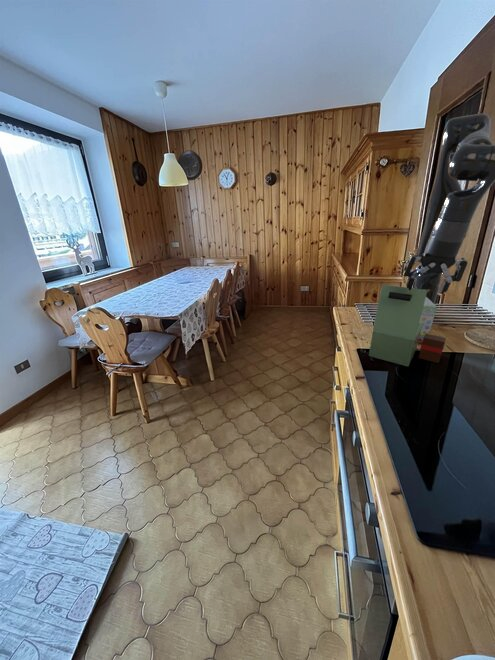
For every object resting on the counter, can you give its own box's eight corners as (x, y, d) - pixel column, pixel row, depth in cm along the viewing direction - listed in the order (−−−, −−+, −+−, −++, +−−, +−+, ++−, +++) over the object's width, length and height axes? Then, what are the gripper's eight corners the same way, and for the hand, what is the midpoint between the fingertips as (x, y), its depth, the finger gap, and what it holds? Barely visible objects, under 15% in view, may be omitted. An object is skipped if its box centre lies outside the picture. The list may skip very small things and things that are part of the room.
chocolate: (420, 353, 100) (425, 333, 96) (440, 358, 96) (446, 337, 93) (418, 358, 97) (423, 337, 94) (438, 363, 94) (445, 342, 90)
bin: (380, 339, 110) (384, 316, 106) (416, 348, 103) (422, 323, 99) (368, 355, 100) (372, 331, 96) (408, 366, 93) (414, 340, 89)
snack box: (428, 344, 105) (438, 306, 98) (411, 343, 106) (420, 306, 100) (410, 320, 124) (418, 287, 117) (396, 320, 125) (403, 287, 118)
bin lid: (382, 284, 91) (378, 285, 87) (427, 290, 84) (425, 291, 80) (373, 329, 96) (368, 332, 92) (414, 339, 89) (412, 342, 85)
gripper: (474, 233, 74) (448, 287, 84) (414, 229, 78) (396, 282, 88) (483, 243, 69) (455, 300, 79) (419, 238, 72) (399, 293, 82)
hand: (424, 290), depth 83 cm, fingers open, 8 cm apart
